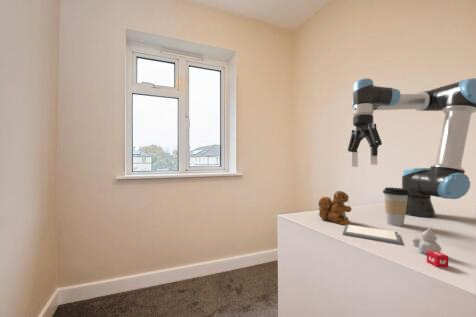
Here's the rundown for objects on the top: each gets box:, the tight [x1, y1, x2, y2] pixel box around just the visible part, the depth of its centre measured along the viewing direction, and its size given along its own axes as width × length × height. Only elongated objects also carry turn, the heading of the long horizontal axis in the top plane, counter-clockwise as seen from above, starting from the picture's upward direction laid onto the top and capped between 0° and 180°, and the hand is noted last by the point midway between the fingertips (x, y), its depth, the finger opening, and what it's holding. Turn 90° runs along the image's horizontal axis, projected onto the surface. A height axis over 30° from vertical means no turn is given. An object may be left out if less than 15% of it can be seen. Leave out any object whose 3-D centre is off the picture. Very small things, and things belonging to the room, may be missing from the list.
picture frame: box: [342, 224, 402, 246], centre depth 83 cm, size 17×12×1 cm
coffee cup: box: [382, 187, 410, 227], centre depth 97 cm, size 9×9×15 cm
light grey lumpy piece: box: [411, 226, 442, 255], centre depth 67 cm, size 5×7×8 cm
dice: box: [426, 251, 449, 268], centre depth 60 cm, size 3×3×3 cm
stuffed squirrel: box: [317, 190, 352, 226], centre depth 101 cm, size 10×14×13 cm
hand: (363, 165), depth 96 cm, fingers open, 13 cm apart
